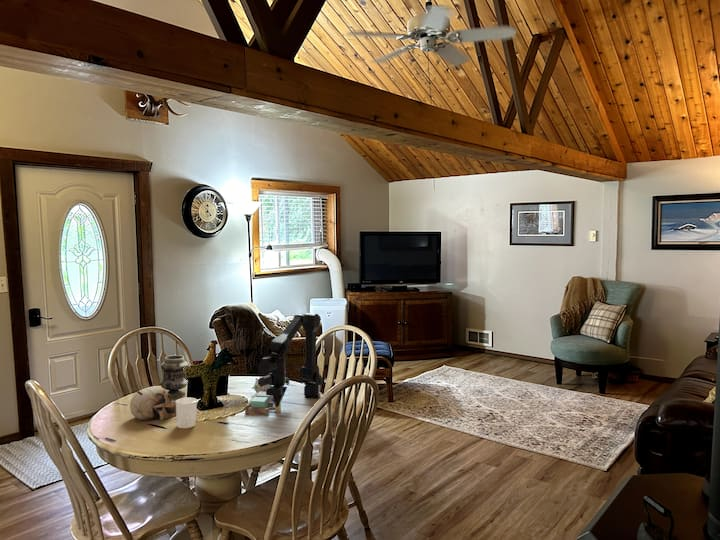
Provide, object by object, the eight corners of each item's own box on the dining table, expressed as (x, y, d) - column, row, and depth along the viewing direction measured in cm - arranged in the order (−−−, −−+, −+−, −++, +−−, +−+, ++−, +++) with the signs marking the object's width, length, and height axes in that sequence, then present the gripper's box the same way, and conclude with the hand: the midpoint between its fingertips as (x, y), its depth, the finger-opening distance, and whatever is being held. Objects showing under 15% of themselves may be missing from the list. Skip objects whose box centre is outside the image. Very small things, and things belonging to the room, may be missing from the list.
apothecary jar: (182, 399, 233) (182, 360, 232) (156, 398, 233) (156, 359, 232) (191, 391, 245) (191, 354, 244) (166, 390, 245) (166, 353, 244)
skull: (185, 410, 217) (182, 380, 215) (159, 429, 200) (155, 397, 198) (153, 408, 221) (150, 378, 219) (125, 426, 205) (121, 394, 203)
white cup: (177, 430, 196) (177, 404, 195) (174, 423, 202) (174, 398, 202) (198, 427, 199) (198, 402, 199) (194, 420, 206) (194, 396, 206)
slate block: (272, 402, 231) (272, 392, 231) (269, 407, 225) (269, 396, 225) (259, 402, 232) (259, 391, 231) (255, 406, 226) (255, 395, 225)
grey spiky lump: (264, 403, 241) (269, 390, 236) (247, 396, 241) (251, 383, 236) (271, 389, 249) (275, 376, 243) (255, 382, 249) (259, 369, 243)
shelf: (277, 401, 233) (277, 393, 233) (268, 414, 215) (268, 406, 215) (256, 400, 234) (256, 393, 233) (245, 413, 216) (245, 405, 215)
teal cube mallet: (282, 409, 222) (282, 391, 222) (279, 413, 216) (279, 395, 216) (254, 407, 223) (254, 389, 223) (250, 412, 217) (250, 394, 217)
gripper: (265, 363, 228) (264, 398, 229) (253, 374, 210) (253, 412, 211) (289, 364, 228) (289, 399, 229) (280, 375, 209) (280, 413, 210)
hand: (277, 405), depth 219 cm, fingers closed on teal cube mallet, 2 cm apart
